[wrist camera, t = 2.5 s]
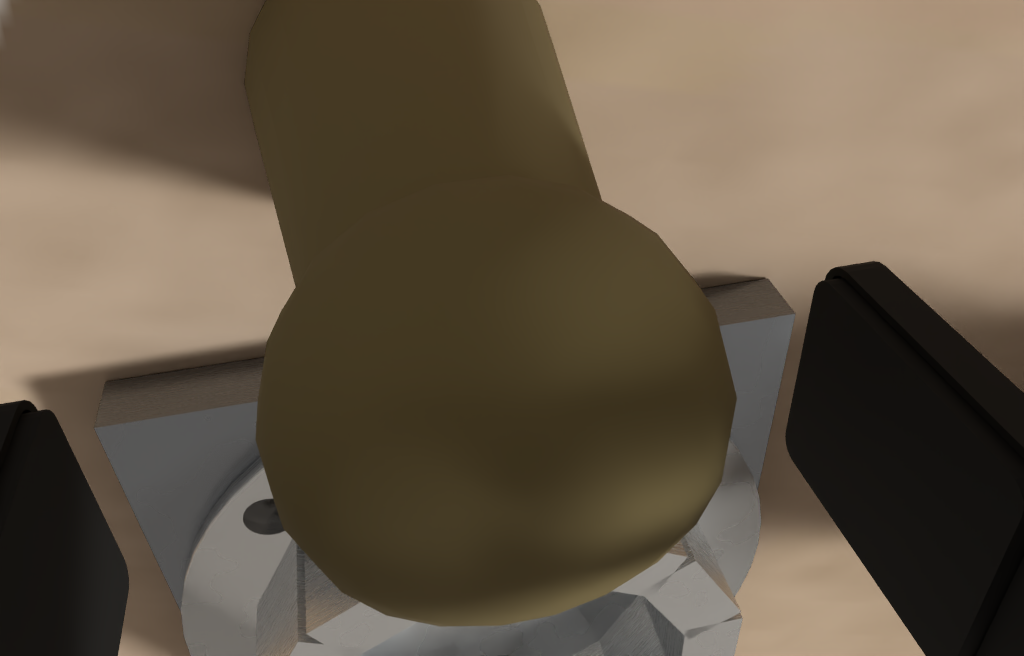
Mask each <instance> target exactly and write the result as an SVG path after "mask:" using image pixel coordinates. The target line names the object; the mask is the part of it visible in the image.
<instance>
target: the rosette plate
mask: <svg viewBox="0 0 1024 656" xmlns="http://www.w3.org/2000/svg"><path fill="white" fill-rule="evenodd" d="M701 290H702V292H703V293H704V294H705V296H706V297H707V299H708V300H709V302H710V303H711V304H712V306H713V307H714V309H715V311H716V315H717V319H718V323H719V327H720V331H721V335H722V339H723V343H724V347H725V351H726V355H727V359H728V363H729V367H730V371H731V375H732V379H733V384H734V388H735V392H736V396H737V401H736V407H735V412H734V417H733V423H732V428H731V434H730V439H729V444H728V450H727V455H726V460H725V466H724V471H723V477H722V482H721V483H720V485H719V487H718V489H717V490H716V492H715V494H714V495H713V497H712V499H711V500H710V502H709V504H708V506H707V507H706V509H705V511H704V512H703V514H702V516H701V517H700V519H699V521H698V522H697V524H696V525H695V526H694V527H693V528H692V529H691V530H690V531H689V532H688V533H687V534H686V535H685V536H684V537H683V538H682V539H681V540H680V541H679V542H678V543H677V544H676V545H675V546H674V547H673V548H672V549H671V550H670V551H669V552H668V553H667V554H666V555H665V556H664V557H663V558H661V559H660V560H659V561H658V562H657V563H656V564H654V565H652V566H651V567H649V568H648V569H646V570H645V571H643V572H641V573H640V574H638V575H637V576H635V577H633V578H632V579H630V580H629V581H627V582H625V583H624V584H622V585H621V586H619V587H617V588H616V589H614V590H613V591H611V592H610V593H608V594H606V595H604V596H602V597H599V598H597V599H594V600H592V601H589V602H587V603H584V604H582V605H579V606H577V607H574V608H572V609H569V610H566V611H564V612H561V613H559V614H556V615H552V616H547V617H542V618H538V619H533V620H528V621H523V622H518V623H513V624H508V625H501V626H447V627H440V626H435V625H430V624H425V623H420V622H415V621H410V620H405V619H401V618H396V617H391V616H386V615H384V614H383V613H381V612H379V611H377V610H375V609H373V608H371V607H369V606H367V605H365V604H363V603H361V602H359V601H357V600H355V599H353V598H351V597H349V596H348V595H346V594H344V593H342V592H341V591H340V590H339V589H338V588H337V587H336V586H335V585H334V584H333V583H332V582H331V580H330V579H329V578H328V577H327V576H326V575H325V574H324V573H323V572H322V571H321V570H320V569H319V568H318V567H317V566H316V564H315V563H314V562H313V561H312V560H311V559H310V558H309V557H308V556H307V554H306V553H305V552H304V551H303V550H302V549H301V548H300V547H299V546H298V544H297V543H296V542H295V541H294V540H293V539H292V538H291V537H290V535H289V534H288V533H287V532H286V531H285V530H284V529H283V526H282V523H281V520H280V517H279V514H278V511H277V508H276V505H275V502H274V499H273V496H272V493H271V490H270V486H269V483H268V480H267V476H266V473H265V470H264V466H263V463H262V460H261V456H260V453H259V450H258V446H257V443H256V440H255V438H256V421H257V404H258V396H259V389H260V383H261V376H262V370H263V364H264V357H263V358H257V359H250V360H244V361H238V362H231V363H225V364H218V365H212V366H206V367H199V368H193V369H186V370H180V371H174V372H167V373H161V374H154V375H148V376H142V377H135V378H129V379H122V380H116V381H110V382H105V385H104V389H103V394H102V398H101V402H100V406H99V410H98V414H97V418H96V422H95V426H94V429H95V431H96V433H97V435H98V438H99V440H100V442H101V444H102V446H103V448H104V450H105V452H106V454H107V457H108V459H109V461H110V463H111V465H112V467H113V469H114V471H115V473H116V476H117V478H118V480H119V482H120V484H121V486H122V488H123V490H124V493H125V495H126V497H127V499H128V501H129V503H130V505H131V507H132V509H133V512H134V514H135V516H136V518H137V520H138V522H139V524H140V526H141V528H142V531H143V533H144V535H145V537H146V539H147V541H148V543H149V545H150V548H151V550H152V552H153V554H154V556H155V558H156V560H157V562H158V564H159V567H160V569H161V571H162V573H163V575H164V577H165V579H166V581H167V583H168V586H169V588H170V590H171V592H172V594H173V596H174V598H175V600H176V602H177V605H178V607H179V609H180V611H181V616H182V625H183V634H184V638H185V641H186V644H187V647H188V649H189V652H190V655H191V656H734V654H735V649H736V645H737V641H738V636H739V632H740V628H741V623H742V619H743V618H742V616H741V614H740V612H741V610H740V608H739V606H738V604H737V602H736V600H735V598H734V597H735V595H736V593H737V592H738V590H739V589H740V587H741V585H742V583H743V581H744V579H745V577H746V575H747V573H748V571H749V569H750V567H751V564H752V561H753V558H754V555H755V552H756V549H757V546H758V541H759V533H760V526H761V512H760V498H759V495H758V491H757V490H758V486H759V481H760V476H761V472H762V467H763V462H764V458H765V453H766V448H767V444H768V439H769V434H770V430H771V425H772V421H773V416H774V411H775V407H776V402H777V397H778V393H779V388H780V383H781V379H782V374H783V369H784V365H785V360H786V355H787V351H788V346H789V341H790V337H791V332H792V328H793V323H794V318H795V312H794V311H793V310H792V309H791V307H790V306H789V305H788V303H787V302H786V301H785V300H784V298H783V297H782V296H781V295H780V293H779V292H778V291H777V289H776V288H775V287H774V286H773V284H772V283H771V282H770V280H769V279H762V280H756V281H750V282H743V283H737V284H730V285H724V286H718V287H711V288H705V289H701Z"/></svg>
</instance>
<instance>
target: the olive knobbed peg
mask: <svg viewBox="0 0 1024 656" xmlns="http://www.w3.org/2000/svg"><path fill="white" fill-rule="evenodd" d="M244 84H245V88H246V93H247V97H248V102H249V106H250V110H251V115H252V119H253V123H254V128H255V132H256V136H257V140H258V143H259V147H260V151H261V155H262V159H263V163H264V167H265V170H266V174H267V178H268V182H269V186H270V190H271V194H272V197H273V201H274V205H275V209H276V213H277V217H278V220H279V224H280V228H281V232H282V236H283V240H284V244H285V247H286V251H287V255H288V259H289V263H290V267H291V271H292V274H293V278H294V282H295V286H296V288H295V289H294V291H293V293H292V294H291V296H290V298H289V299H288V301H287V303H286V304H285V306H284V308H283V309H282V311H281V313H280V315H279V317H278V319H277V322H276V324H275V326H274V328H273V330H272V332H271V334H270V336H269V338H268V341H267V344H266V351H265V357H264V364H263V370H262V376H261V383H260V389H259V396H258V404H257V421H256V438H255V440H256V443H257V446H258V450H259V453H260V456H261V460H262V463H263V466H264V470H265V473H266V476H267V480H268V483H269V486H270V490H271V493H272V496H273V499H274V502H275V505H276V508H277V511H278V514H279V517H280V520H281V523H282V526H283V529H284V530H285V531H286V532H287V533H288V534H289V535H290V537H291V538H292V539H293V540H294V541H295V542H296V543H297V544H298V546H299V547H300V548H301V549H302V550H303V551H304V552H305V553H306V554H307V556H308V557H309V558H310V559H311V560H312V561H313V562H314V563H315V564H316V566H317V567H318V568H319V569H320V570H321V571H322V572H323V573H324V574H325V575H326V576H327V577H328V578H329V579H330V580H331V582H332V583H333V584H334V585H335V586H336V587H337V588H338V589H339V590H340V591H341V592H342V593H344V594H346V595H348V596H349V597H351V598H353V599H355V600H357V601H359V602H361V603H363V604H365V605H367V606H369V607H371V608H373V609H375V610H377V611H379V612H381V613H383V614H384V615H386V616H391V617H396V618H401V619H405V620H410V621H415V622H420V623H425V624H430V625H435V626H440V627H447V626H501V625H508V624H513V623H518V622H523V621H528V620H533V619H538V618H542V617H547V616H552V615H556V614H559V613H561V612H564V611H566V610H569V609H572V608H574V607H577V606H579V605H582V604H584V603H587V602H589V601H592V600H594V599H597V598H599V597H602V596H604V595H606V594H608V593H610V592H611V591H613V590H614V589H616V588H617V587H619V586H621V585H622V584H624V583H625V582H627V581H629V580H630V579H632V578H633V577H635V576H637V575H638V574H640V573H641V572H643V571H645V570H646V569H648V568H649V567H651V566H652V565H654V564H656V563H657V562H658V561H659V560H660V559H661V558H663V557H664V556H665V555H666V554H667V553H668V552H669V551H670V550H671V549H672V548H673V547H674V546H675V545H676V544H677V543H678V542H679V541H680V540H681V539H682V538H683V537H684V536H685V535H686V534H687V533H688V532H689V531H690V530H691V529H692V528H693V527H694V526H695V525H696V524H697V522H698V521H699V519H700V517H701V516H702V514H703V512H704V511H705V509H706V507H707V506H708V504H709V502H710V500H711V499H712V497H713V495H714V494H715V492H716V490H717V489H718V487H719V485H720V483H721V482H722V477H723V471H724V466H725V460H726V455H727V450H728V444H729V439H730V434H731V428H732V423H733V417H734V412H735V407H736V401H737V396H736V392H735V388H734V384H733V379H732V375H731V371H730V367H729V363H728V359H727V355H726V351H725V347H724V343H723V339H722V335H721V331H720V327H719V323H718V319H717V315H716V311H715V309H714V307H713V306H712V304H711V303H710V302H709V300H708V299H707V297H706V296H705V294H704V293H703V292H702V290H701V289H700V287H699V286H698V284H697V283H696V282H695V280H694V279H693V277H692V276H691V275H690V274H689V273H688V271H687V270H686V269H685V268H684V266H683V265H682V264H681V263H680V261H679V260H678V259H677V258H676V257H675V255H674V254H673V253H672V252H671V250H670V249H669V248H668V247H667V245H666V244H665V243H664V242H663V241H662V239H661V238H660V237H659V236H658V234H656V233H655V232H653V231H652V230H650V229H649V228H647V227H646V226H644V225H643V224H641V223H640V222H638V221H637V220H635V219H634V218H632V217H631V216H629V215H627V214H626V213H624V212H622V211H620V210H618V209H616V208H615V207H613V206H611V205H609V204H607V203H605V202H604V201H602V199H601V196H600V193H599V189H598V186H597V183H596V180H595V177H594V174H593V170H592V167H591V164H590V161H589V158H588V154H587V151H586V148H585V145H584V142H583V139H582V135H581V132H580V129H579V126H578V123H577V119H576V116H575V113H574V110H573V107H572V104H571V100H570V97H569V94H568V91H567V88H566V84H565V81H564V78H563V75H562V72H561V68H560V65H559V62H558V59H557V56H556V53H555V49H554V46H553V43H552V40H551V37H550V34H549V31H548V28H547V25H546V22H545V19H544V16H543V13H542V10H541V7H540V5H539V3H538V2H537V1H536V0H266V1H265V3H264V5H263V8H262V10H261V12H260V14H259V16H258V18H257V20H256V22H255V24H254V26H253V28H252V30H251V32H250V36H249V45H248V54H247V63H246V71H245V80H244Z"/></svg>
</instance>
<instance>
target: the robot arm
mask: <svg viewBox="0 0 1024 656" xmlns="http://www.w3.org/2000/svg"><path fill="white" fill-rule="evenodd" d="M785 437H786V445H787V449H788V452H789V455H790V457H791V459H792V460H793V462H794V464H795V465H796V466H797V468H798V469H799V471H800V472H801V474H802V475H803V477H804V478H805V480H806V481H807V483H808V484H809V485H810V487H811V488H812V490H813V491H814V493H815V494H816V496H817V497H818V499H819V500H820V502H821V503H822V505H823V506H824V507H825V509H826V510H827V512H828V513H829V515H830V516H831V518H832V519H833V521H834V522H835V524H836V525H837V526H838V528H839V529H840V531H841V532H842V534H843V535H844V537H845V538H846V540H847V541H848V543H849V544H850V545H851V547H852V548H853V550H854V551H855V553H856V554H857V556H858V557H859V559H860V560H861V562H862V563H863V564H864V566H865V567H866V569H867V570H868V572H869V573H870V575H871V576H872V578H873V579H874V581H875V582H876V584H877V585H878V586H879V588H880V589H881V591H882V592H883V594H884V595H885V597H886V598H887V600H888V601H889V603H890V604H891V605H892V607H893V608H894V610H895V611H896V613H897V614H898V616H899V617H900V619H901V620H902V622H903V623H904V624H905V626H906V627H907V629H908V630H909V632H910V633H911V635H912V636H913V638H914V639H915V641H916V642H917V644H918V645H919V646H920V648H921V649H922V651H923V652H924V654H925V655H926V656H1024V393H1023V392H1022V391H1021V390H1020V389H1019V388H1017V387H1016V386H1015V385H1014V384H1013V383H1012V382H1011V381H1010V380H1009V379H1008V378H1007V377H1005V376H1004V375H1003V374H1002V373H1001V372H1000V371H999V370H998V369H997V368H996V367H995V366H994V365H992V364H991V363H990V362H989V361H988V360H987V359H986V358H985V357H984V356H983V355H982V354H980V353H979V352H978V351H977V350H976V349H975V348H974V347H973V346H972V345H971V344H970V343H968V342H967V341H966V340H965V339H964V338H963V337H962V336H961V335H960V334H959V333H958V332H957V331H955V330H954V329H953V328H952V327H951V326H950V325H949V324H948V323H947V322H946V321H945V320H943V319H942V318H941V317H940V316H939V315H938V314H937V313H936V312H935V311H934V310H933V309H932V308H930V307H929V306H928V305H927V304H926V303H925V302H924V301H923V300H922V299H921V298H920V297H918V296H917V295H916V294H915V293H914V292H913V291H912V290H911V289H910V288H909V287H908V286H906V285H905V284H904V283H903V282H902V281H901V280H900V279H899V278H898V277H897V276H896V275H895V274H893V273H892V272H891V271H890V270H889V269H888V268H887V267H886V266H885V265H883V264H881V263H880V262H875V261H872V262H866V263H860V264H853V265H847V266H841V267H835V268H833V269H831V270H830V271H829V272H828V274H827V275H826V278H825V281H821V282H819V283H818V284H817V285H816V287H815V290H814V294H813V299H812V304H811V309H810V314H809V319H808V324H807V329H806V334H805V339H804V344H803V349H802V354H801V359H800V364H799V369H798V374H797V379H796V384H795V389H794V394H793V399H792V404H791V408H790V413H789V418H788V423H787V428H786V436H785ZM128 590H129V577H128V570H127V566H126V563H125V560H124V557H123V555H122V553H121V551H120V549H119V547H118V545H117V543H116V541H115V539H114V537H113V535H112V532H111V530H110V528H109V526H108V524H107V522H106V520H105V518H104V516H103V514H102V512H101V510H100V507H99V505H98V503H97V501H96V499H95V497H94V495H93V493H92V491H91V489H90V487H89V485H88V482H87V480H86V478H85V476H84V474H83V472H82V470H81V468H80V466H79V464H78V462H77V460H76V457H75V455H74V453H73V451H72V449H71V447H70V445H69V443H68V441H67V439H66V437H65V435H64V432H63V430H62V428H61V426H60V424H59V422H58V420H57V418H56V416H55V415H54V413H53V412H52V411H50V410H41V411H38V410H37V409H36V407H35V406H34V405H33V404H32V403H31V402H30V401H26V400H23V401H16V402H10V403H4V404H0V656H118V651H119V645H120V639H121V633H122V627H123V621H124V615H125V609H126V603H127V597H128Z"/></svg>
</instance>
